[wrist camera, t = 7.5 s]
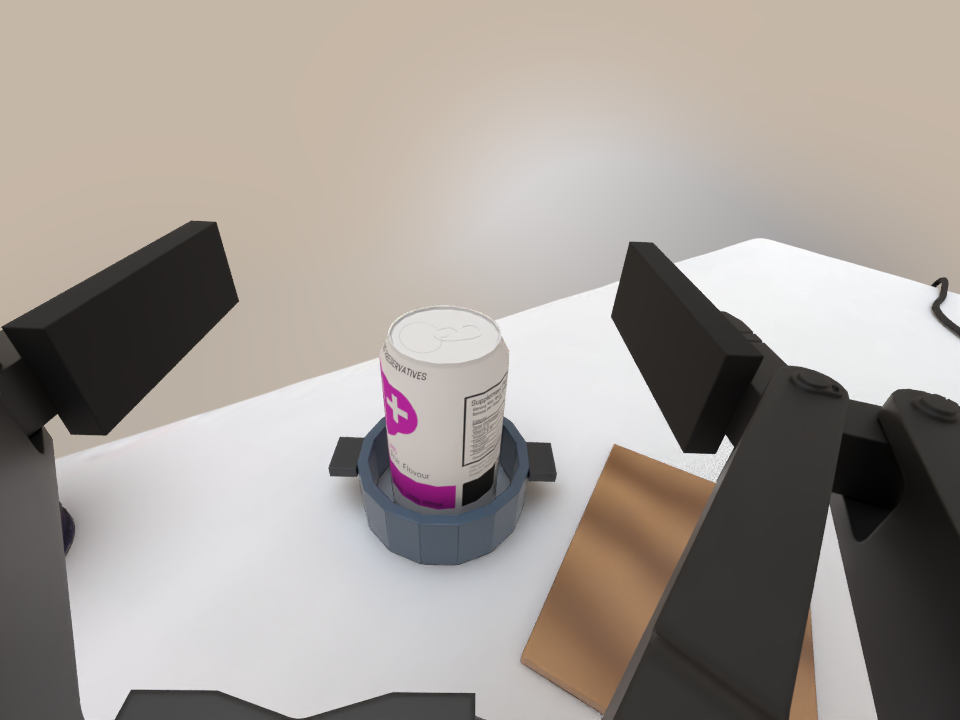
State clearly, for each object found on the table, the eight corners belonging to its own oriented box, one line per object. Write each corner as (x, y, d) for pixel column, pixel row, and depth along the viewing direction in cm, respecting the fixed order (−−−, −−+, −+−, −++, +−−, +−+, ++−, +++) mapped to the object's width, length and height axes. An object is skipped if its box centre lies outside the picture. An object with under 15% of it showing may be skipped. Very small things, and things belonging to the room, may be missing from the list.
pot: (358, 433, 40) (352, 395, 38) (537, 438, 41) (543, 401, 38) (318, 562, 30) (306, 522, 28) (558, 567, 31) (568, 527, 28)
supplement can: (402, 548, 31) (387, 379, 23) (387, 463, 38) (371, 307, 29) (509, 522, 33) (531, 360, 25) (478, 446, 40) (487, 296, 31)
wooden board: (612, 449, 40) (614, 443, 40) (799, 523, 34) (804, 517, 34) (519, 662, 26) (521, 656, 25) (818, 852, 20) (827, 849, 19)
